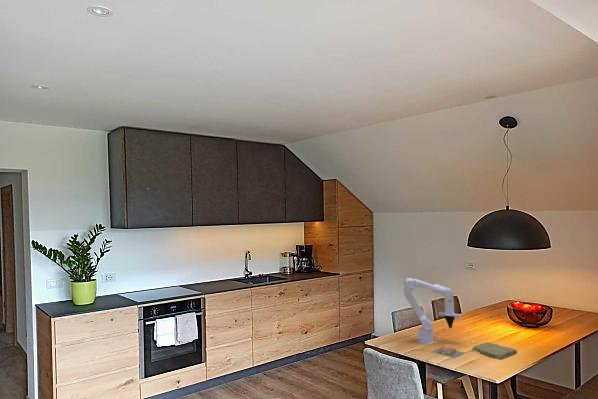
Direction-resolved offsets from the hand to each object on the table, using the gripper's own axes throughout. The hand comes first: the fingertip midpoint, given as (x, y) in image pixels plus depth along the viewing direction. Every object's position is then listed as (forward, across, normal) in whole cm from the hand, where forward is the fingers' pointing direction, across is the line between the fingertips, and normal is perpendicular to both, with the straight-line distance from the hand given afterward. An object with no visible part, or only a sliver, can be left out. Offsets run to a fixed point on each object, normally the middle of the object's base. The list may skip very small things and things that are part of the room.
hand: (450, 327), depth 295 cm
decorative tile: (+12, +27, -2) cm, 30 cm away
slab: (+9, +2, -20) cm, 22 cm away
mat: (+10, +6, -20) cm, 23 cm away
